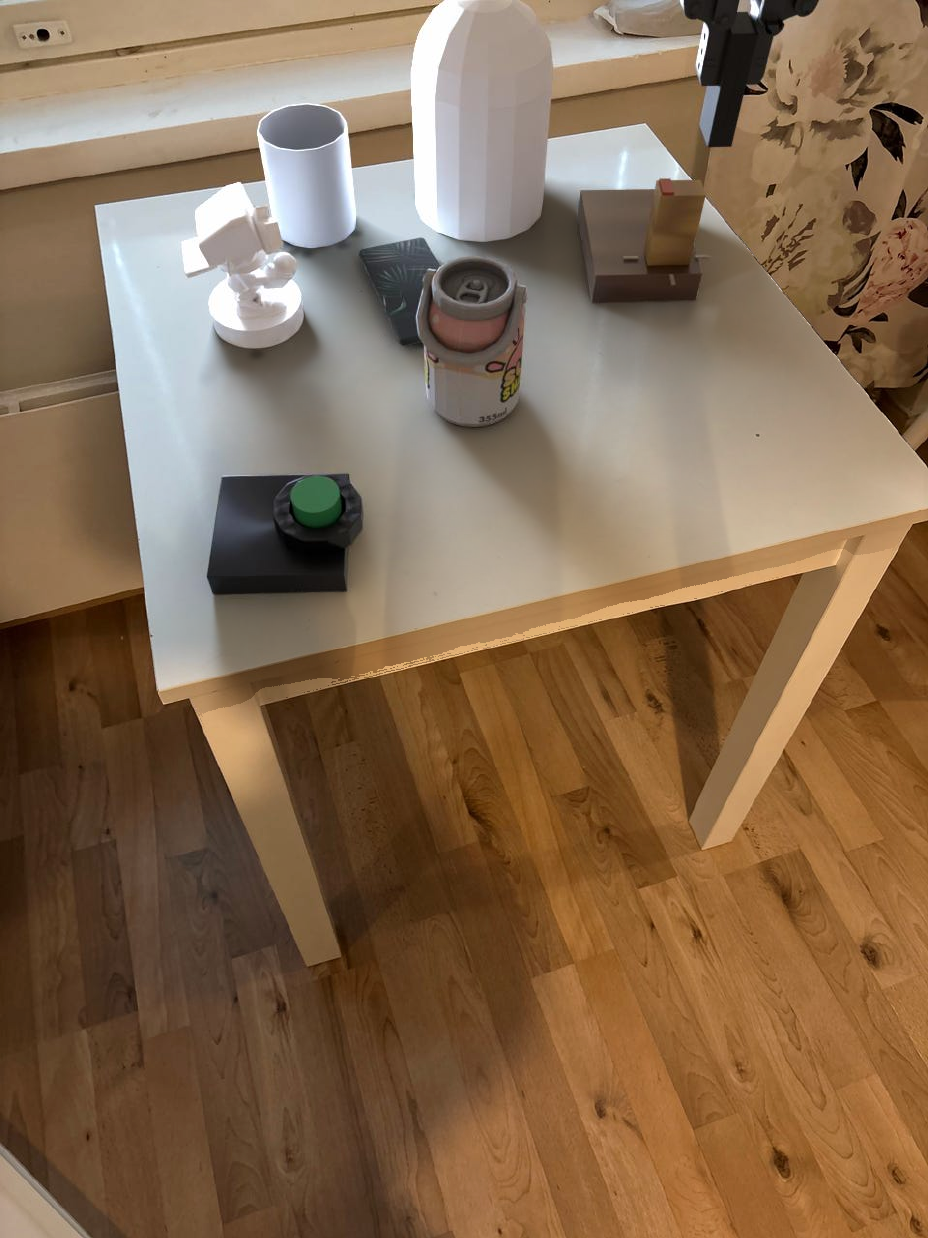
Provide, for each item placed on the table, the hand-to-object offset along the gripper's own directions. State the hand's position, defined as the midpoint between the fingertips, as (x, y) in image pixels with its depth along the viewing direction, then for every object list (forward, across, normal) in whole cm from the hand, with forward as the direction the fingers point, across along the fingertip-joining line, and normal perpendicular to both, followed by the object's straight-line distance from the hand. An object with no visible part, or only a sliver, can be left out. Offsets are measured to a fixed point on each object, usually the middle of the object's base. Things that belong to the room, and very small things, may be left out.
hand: (715, 134), depth 59 cm
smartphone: (+26, +20, -20) cm, 38 cm away
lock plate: (+26, -3, -25) cm, 36 cm away
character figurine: (+26, +35, -17) cm, 46 cm away
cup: (+26, +29, -32) cm, 50 cm away
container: (+26, +12, -34) cm, 45 cm away
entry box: (+26, +30, +10) cm, 41 cm away
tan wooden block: (+23, -4, -20) cm, 31 cm away
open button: (+22, +27, +10) cm, 36 cm away
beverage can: (+26, +15, -4) cm, 30 cm away
